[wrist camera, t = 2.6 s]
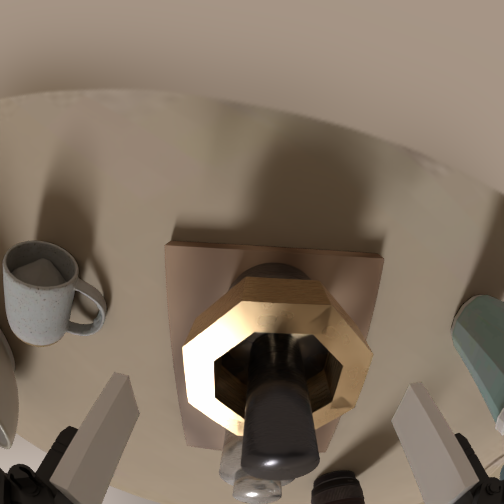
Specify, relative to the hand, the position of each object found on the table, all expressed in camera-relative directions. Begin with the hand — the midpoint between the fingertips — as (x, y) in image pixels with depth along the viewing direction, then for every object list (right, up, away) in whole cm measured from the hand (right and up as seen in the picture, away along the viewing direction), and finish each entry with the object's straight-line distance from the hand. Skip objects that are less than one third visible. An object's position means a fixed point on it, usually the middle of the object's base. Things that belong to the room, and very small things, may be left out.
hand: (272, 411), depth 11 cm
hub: (0, -13, +15) cm, 20 cm away
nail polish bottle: (+1, +3, +11) cm, 11 cm away
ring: (+1, +1, +5) cm, 5 cm away
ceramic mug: (-20, +4, +13) cm, 24 cm away
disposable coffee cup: (+24, -1, +13) cm, 27 cm away
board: (0, -4, +14) cm, 15 cm away
